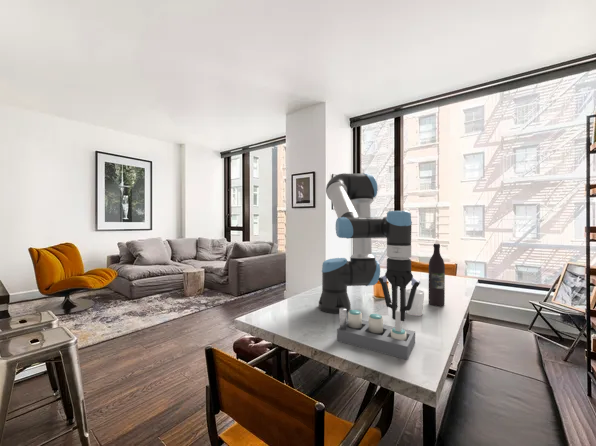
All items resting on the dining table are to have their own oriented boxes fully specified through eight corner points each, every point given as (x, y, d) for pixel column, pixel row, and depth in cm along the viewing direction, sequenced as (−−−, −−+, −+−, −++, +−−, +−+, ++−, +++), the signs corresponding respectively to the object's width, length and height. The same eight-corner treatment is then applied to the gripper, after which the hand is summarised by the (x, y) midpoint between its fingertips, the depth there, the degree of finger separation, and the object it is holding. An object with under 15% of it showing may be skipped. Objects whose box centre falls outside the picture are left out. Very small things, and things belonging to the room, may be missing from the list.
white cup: (425, 317, 114) (426, 294, 114) (406, 315, 116) (406, 293, 116) (421, 310, 122) (421, 289, 122) (403, 309, 124) (403, 288, 123)
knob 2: (389, 346, 86) (389, 331, 86) (392, 340, 90) (392, 326, 90) (404, 350, 84) (404, 334, 84) (407, 344, 88) (407, 329, 88)
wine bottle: (429, 305, 129) (429, 244, 128) (427, 301, 135) (428, 243, 135) (445, 307, 126) (446, 244, 126) (443, 303, 133) (443, 243, 133)
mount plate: (337, 340, 92) (337, 329, 92) (351, 327, 103) (351, 317, 103) (407, 359, 79) (407, 346, 79) (415, 343, 90) (415, 331, 90)
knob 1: (346, 326, 95) (346, 312, 95) (351, 321, 99) (351, 308, 99) (359, 329, 92) (359, 315, 92) (363, 324, 96) (363, 311, 96)
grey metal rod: (338, 329, 92) (338, 309, 92) (341, 326, 94) (341, 307, 94) (344, 330, 91) (344, 310, 91) (347, 328, 93) (347, 308, 93)
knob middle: (366, 331, 90) (366, 316, 90) (371, 326, 95) (371, 312, 94) (380, 334, 88) (380, 319, 88) (384, 329, 92) (384, 315, 92)
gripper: (375, 257, 87) (375, 329, 87) (418, 261, 80) (418, 338, 80) (381, 255, 93) (381, 322, 94) (422, 258, 86) (422, 330, 86)
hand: (398, 329), depth 87 cm, fingers closed
